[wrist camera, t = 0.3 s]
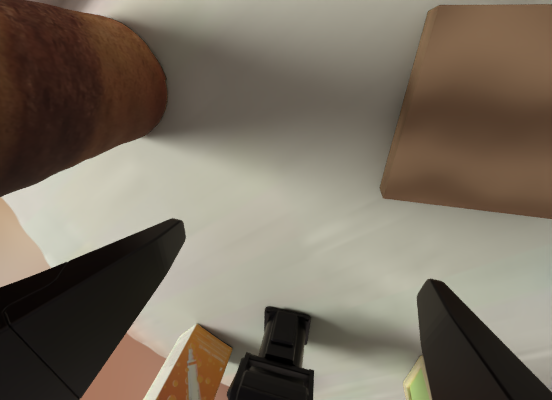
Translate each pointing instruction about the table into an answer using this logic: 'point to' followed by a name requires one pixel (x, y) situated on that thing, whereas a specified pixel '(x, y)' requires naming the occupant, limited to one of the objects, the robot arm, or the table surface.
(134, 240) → the robot arm
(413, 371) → the tall beige block
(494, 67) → the walnut block
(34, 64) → the wafer roll
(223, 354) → the small box
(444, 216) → the table surface
